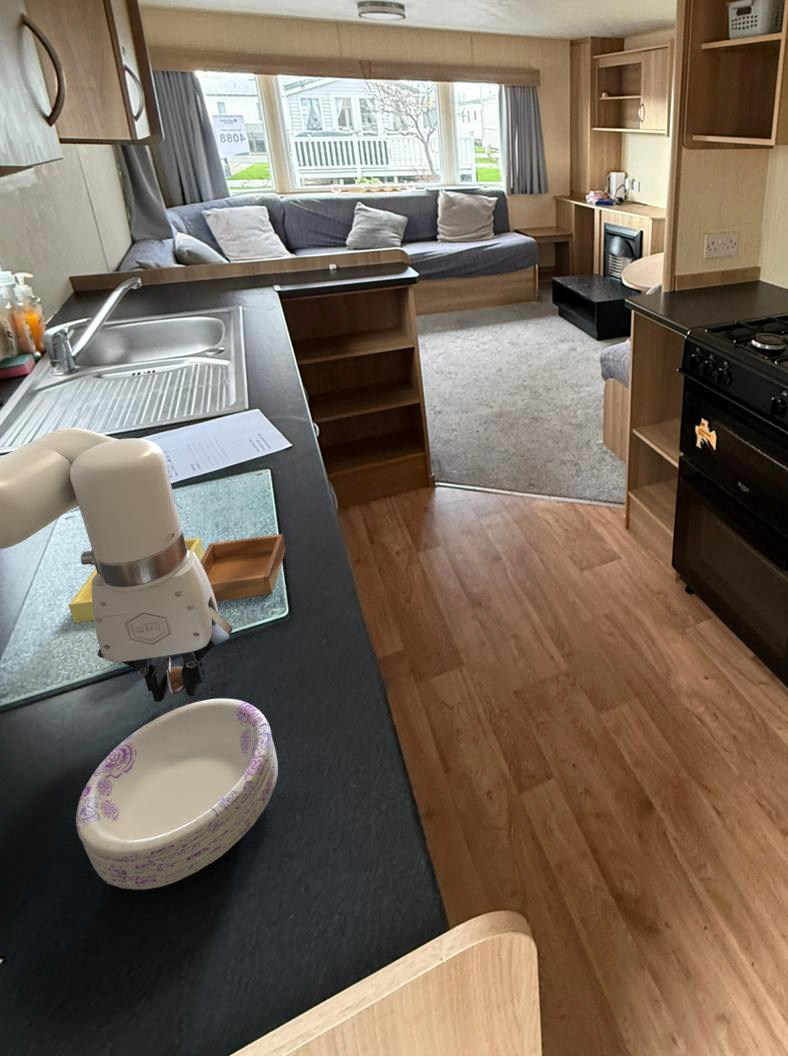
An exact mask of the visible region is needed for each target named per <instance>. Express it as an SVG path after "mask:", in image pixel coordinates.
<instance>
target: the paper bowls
mask: <svg viewBox="0 0 788 1056" xmlns="http://www.w3.org/2000/svg"><path fill="white" fill-rule="evenodd" d="M278 767H279V765H278V757H277V751H276V747H275V744H274V740H273V737H272V730H271V727H270V723H269V722H268V720H267V718H266V717H265V715H264V714H263V712H261V710H259V709H258V708H257V707H255V706H254V705H253V704H251V703H248V702H246V701H243V700H240V699H235V698H211V699H205V700H199V701H196V702H192V703H189V704H185V705H183V706H180V707H177V708H175V709H172V710H170V711H168V712H166V713H164V714H162V715H160V716H158V717H157V718H155V719H153V720H151V721H150V722H148V723H146V724H144V725H143V726H141V727H140V728H139V729H137V730H136V731H134V732H133V733H132V734H130V735H129V736H128V737H126V738H125V739H123V741H122V742H120V743H119V744H118V745H117V746H116V747H115V748H114V749H113V750H111V752H110V753H109V754H108V755H107V756H106V757H105V758H104V759H103V761H102V762H101V763H100V764H99V765H98V767H97V768H96V769H95V771H94V772H93V774H92V775H91V776H90V779H89V780H88V782H87V783H86V785H85V786H84V789H83V790H82V792H81V796H80V797H79V801H78V804H77V809H76V815H75V823H76V825H75V826H76V831H77V834H78V838H79V839H80V841H81V843H82V845H83V848H84V851H85V852H86V854H87V856H88V858H89V860H90V863H91V866H92V867H93V869H94V870H95V872H96V873H97V875H98V877H100V878H101V879H102V880H103V881H104V882H106V884H109V885H111V886H115V887H118V888H119V889H126V890H143V891H145V890H150V889H155V888H161V887H165V886H168V885H170V884H173V883H176V882H179V881H181V880H182V879H184V878H186V877H187V878H188V877H189V876H191V875H193V874H195V873H197V872H198V871H200V870H202V869H204V868H205V867H207V866H208V865H210V864H212V863H214V862H215V861H217V860H218V859H219V858H221V857H222V856H223V855H224V854H225V853H226V852H228V851H229V850H230V849H232V847H234V845H236V844H237V842H239V841H240V840H241V839H242V838H243V836H245V835H246V834H247V833H248V831H250V830H251V828H252V827H253V826H254V825H255V824H256V823H257V821H258V819H259V818H260V816H261V815H262V813H263V812H264V810H265V809H266V807H267V805H268V803H269V802H270V800H271V797H272V795H273V792H274V791H275V787H276V783H277V779H278V775H279V768H278Z"/></svg>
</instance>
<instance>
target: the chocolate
mask: <svg viewBox="0 0 788 1056" xmlns="http://www.w3.org/2000/svg"><path fill="white" fill-rule="evenodd" d="M168 659H169V662H168V667H169V668H168V670H167V671H166V672H167V682H168V685H169V688H168V690H169V692H170V694H171V695H173V696H175V695H177V694H179V693H181V692H182V691H184V690H185V689H186V688H185V685H184V681H183V677H182V674H181V671H182V668H183V666H180V665H176V666H171V665H172V662H171V657H169V658H168Z"/></svg>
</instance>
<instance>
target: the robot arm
mask: <svg viewBox="0 0 788 1056" xmlns="http://www.w3.org/2000/svg"><path fill="white" fill-rule="evenodd" d="M169 474H170V473H169V470H168V466H167V461H166V458H165V455H164V452H163V450H162V448H161V447H160V446H159V445H158V444H156V442H154V441H151V440H148V439H145V438H133V437H132V438H121V439H118V438H115V437H112V436H109V435H105V434H102V433H98V432H96V431H93V430H89V429H86V428H80V427H63V428H58V429H56V430H53V431H50V432H48V433H46V434H44V435H41V436H40V437H38V438H36V439H34V440H32V441H31V442H28V443H27V444H25V445H23V446H20V447H18V448H16V449H14V450H12V451H10V452H8V453H6V454H5V455H2V456H0V550H4V549H8V548H11V547H14V546H16V545H18V544H21V543H22V542H24V541H26V540H28V539H29V538H30V537H32V536H34V535H35V534H36V533H38V532H40V531H41V530H43V529H44V528H46V527H47V526H49V525H51V524H52V523H53V522H54V521H56V520H57V519H59V518H60V517H62V516H63V515H65V514H67V513H68V512H69V511H71V510H73V509H75V508H77V507H78V508H79V512H80V515H81V518H82V521H83V524H84V527H85V531H86V534H87V537H88V541H89V544H90V547H91V549H90V550H87V551H86V550H85V551H83V552H82V553H81V555H80V563H81V565H83V566H87V565H90V566H94V567H95V568H96V570H97V574H96V575H95V576H94V578H93V580H92V607H93V617H94V620H93V624H94V629H95V634H96V638H97V642H98V646H99V648H98V652H97V656H98V657H99V658H100V659H105V660H106V661H107V662H112V663H122V664H124V665H127V666H129V667H131V668H133V669H135V671H136V674H137V675H139V676H143V678H144V680H145V685H146V687H147V691H148V692H151V695H152V698H153V702H154V703H159V702H162V701H163V700H164V699H165V696H166V694H167V692H168V690H169V685H168V682H167V672H166V671H167V670H168V668H169V663H168V660H167V656H173V655H181V657H182V660H183V666H182V667H183V668H182V671H181V674H182V677H183V681H184V685H185V688H184V689H185V691H186V695H187V696H188V697H189V698H190V697H195V696H196V695H197V693H198V690H199V687H200V685H201V684H204V682H205V680H206V677H207V670H206V664H205V662H204V657H205V656H206V655H207V654H208V653H209V651H211V649H212V648H213V647H216V646H218V645H220V644H222V643H224V642H226V641H228V640H229V639H230V638H231V634H232V632H233V627H232V625H230V624H229V622H227V621H226V620H225V619H224V618H223V617H222V616H221V615H220V614H219V609H218V604H217V602H216V600H215V597H214V593H213V590H212V588H211V585H210V582H209V580H208V577H207V575H206V573H205V571H204V569H203V567H202V565H201V563H200V562H201V561H199V559H198V558H197V556H196V555H195V553H194V552H193V551H191V550H187V547H186V543H185V536H184V531H183V527H182V523H181V519H180V515H179V511H178V506H177V503H176V502H177V501H176V498H175V495H174V491H173V487H172V482H171V478H170V475H169Z"/></svg>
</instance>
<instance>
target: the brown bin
mask: <svg viewBox="0 0 788 1056" xmlns="http://www.w3.org/2000/svg"><path fill="white" fill-rule="evenodd" d="M285 549H286V544H285V539H284V535H283V533H279V534H273V535H265V536H257V537H251V538H242V539H236V540H235V539H234V540H227V541H219V542H211V543H209V544H208V546H207V548H206V550H205V551H204V555H203V557H202V559H201V561H200V563H201V565H202V567H203V569H204V571H205V573H206V575H207V577H208V580H209V582H210V585H211V588H212V590H213V593H214V597H215V600H216V603H218V602H225V601H231V600H238V599H244V598H251V597H252V598H253V597H257V596H258V597H259V596H266V595H271V594H273V592H274V589H275V585H276V582H277V578H278V576H279V573H280V571H281V567H282V564H283V560H284V557H285V554H286V551H285ZM286 550H287V549H286ZM284 553H285V554H284ZM282 559H283V560H282ZM280 566H281V567H280Z"/></svg>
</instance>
